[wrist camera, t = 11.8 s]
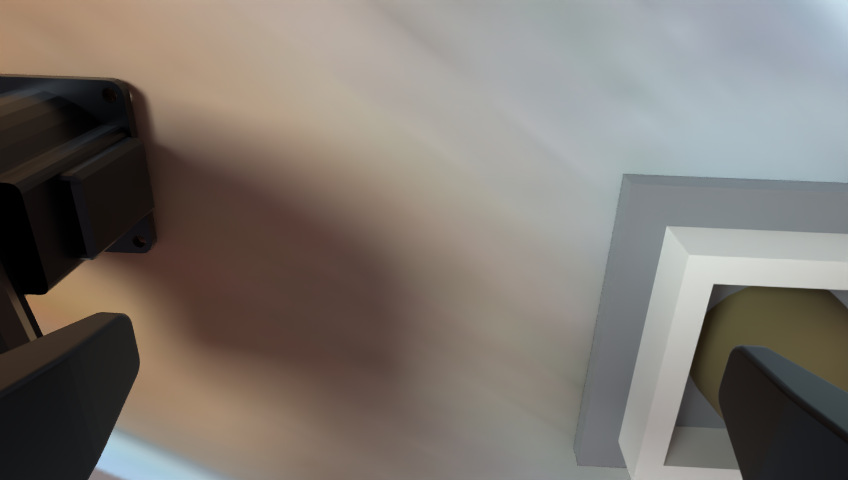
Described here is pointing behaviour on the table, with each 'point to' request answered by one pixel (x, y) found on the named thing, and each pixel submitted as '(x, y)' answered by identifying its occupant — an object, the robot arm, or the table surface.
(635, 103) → the table surface
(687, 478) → the socket base
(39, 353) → the robot arm
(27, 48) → the table surface
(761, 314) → the olive rounded knob shape
